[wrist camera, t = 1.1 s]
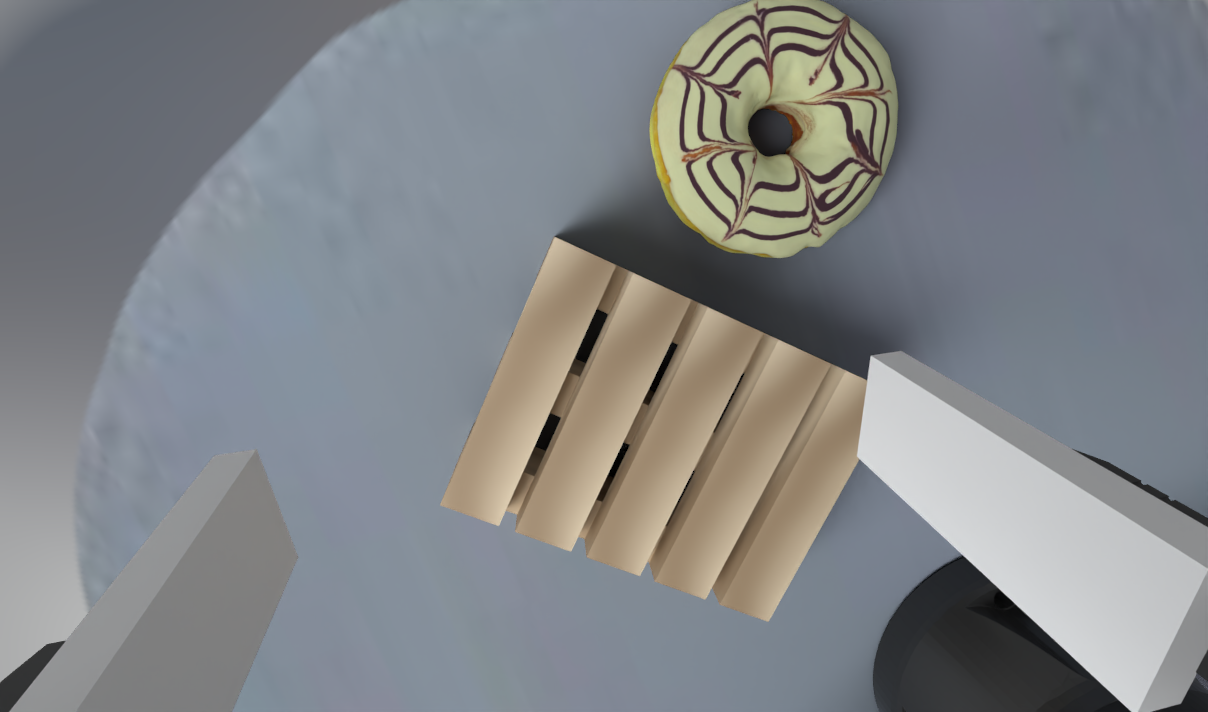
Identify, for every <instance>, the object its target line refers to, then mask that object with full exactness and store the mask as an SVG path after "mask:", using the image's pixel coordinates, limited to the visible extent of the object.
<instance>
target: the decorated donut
mask: <svg viewBox="0 0 1208 712" xmlns="http://www.w3.org/2000/svg"><path fill="white" fill-rule="evenodd" d="M762 108H764V109H768V108H769V109H770V110H776V111H777V112H779V113H780V114H783V115H785V116H786V117H787V118H788V120H789V121H790V122H789V124H791V125H792V129H793V131H792V132H793V133H792V136H793V139H792V142H791V146H790V147H789V148H788V149H787V150H786V154H780V155H775V156H771V157H767V156H764V155H762V154H760V153H759V152H758V150H757V149H756V148H755V146H754V145H753V143H752V141H751V139H750V137H749V134H748V123H749V120H750V118H751V116H752V115H753V114H754V113H756V111H757V110H760V109H762ZM897 112H898V97H897V88H896V82H895V78H894V75H893V72H892V69H891V63H890V59H889V56H888V54H887V52H886V51H885V50H884V48H883V47H882V45H881V44H880V43H879V42H878V41H877V40H876V38H875V37H874V36H873V35H872V34H871V33H870V32H869V31H867V30H866V29H865V28H863V27H862V26H861V25H860V24H859V23H857V22H856V21H854V20H853V19H851V18H850V17H849V16H847V15H846V14H844V13H842V12H840V11H839V10H838V9H836V8H835V7H833V6H832V5H830V4H828V3H826V2H823V1H820V0H751V1H749V2H747V3H745V4H742V5H738V6H735V7H732V8H730V9H728V10H725V11H723V12H721V13H719V14H717V15H716V16H714V17H713V18H712V19H711V20H710V21H709V22H708V23H706V24H705V25H703V26H701V27H700V28H698V29H697V30H696V31H695V32H694V33H693V34H692V35H691V37H690V38H689V39H688V40H687V41H686V42H685V43H684V44H683V46H682V47H681V48H680V50H679V52H678V53H677V54H676V55H675V58H674V59H673V62H672V63H671V64H670V66H669V68H668V70H667V72H666V74H665V76H664V78H663V80H662V83H661V85H660V87H659V90H658V93H657V96H656V98H655V102H654V105H653V109H652V112H651V118H650V142H651V148H652V153H653V157H654V161H655V166H656V172H657V177H658V178H659V180H660V182H661V186H662V188H663V190H664V193H665V197H666V199H667V201H668V203H669V205H670V206H671V207H672V209H673V210H674V211H675V213H676V214H677V215H678V217H679V218H680V220H681V221H682V222H683V223H684V224H685V225H687V226H688V227H690V228H691V229H693V230H694V231H696V232H697V233H700V234H701V235H702V236H703V237H704V238H705V239H706V240H707V242H709V243H710V244H713V245H715V246H716V247H718V248H720V249H722V250H724V251H727V252H732V253H747V254H754V255H757V256H760V257H771V258H785V257H790V256H793V255H795V254H796V253H798V252H799V251H801V250H802V249H804V248H807V247H820V246H822V245H823V244H824V243H826V242H827V241H828V240H829V239H830V238H831V237H832V236H833V235H834V234H835V233H836V232H837V231H838V230H839V229H840V228H842V227H844V226H846V225H847V224H848V223H849V222H851V221H852V220H854V219H855V218H856V217H857V216H858V214H859V213H860V212H861V211H862V210H863V209H864V208H865V207H866V206H867V205H868V204H869V202H870V200H871V199H872V197H873V195H874V194H875V192H876V190H877V188H878V186H879V184H880V182H881V180H882V178H883V177H884V175H885V172H886V169H887V166H888V164H889V161H890V158H891V156H892V153H893V150H894V144H895V140H896V134H897Z"/></svg>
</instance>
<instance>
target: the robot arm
mask: <svg viewBox="0 0 1208 712" xmlns="http://www.w3.org/2000/svg"><path fill="white" fill-rule="evenodd" d="M857 457H858V458H859V459H860V460H861V461H862V462H863V463H864V464H865V465H867V466H868V467H869V468H870V469H871V470H872V471H873V472H874V473H875V474H876V475H877V476H878V477H879V478H881V479H882V480H883V481H884V482H885V483H886V484H887V485H888V486H889V487H890V488H891V489H892V490H893V491H895V492H896V493H897V494H898V495H899V496H900V497H901V498H902V499H903V500H904V501H905V502H906V503H907V504H908V505H910V506H911V507H912V508H913V509H914V510H915V511H916V512H917V513H918V514H919V515H920V516H921V517H922V518H924V519H925V520H926V521H927V522H928V523H929V524H930V525H931V526H932V527H933V528H934V529H935V530H936V531H938V532H939V533H940V534H941V535H942V536H943V537H944V538H945V539H946V540H947V541H948V542H949V543H950V544H951V545H953V546H954V547H955V548H956V549H957V550H958V551H959V552H960V553H961V554H962V555H963V556H964V558H962V559H959V560H957V561H955V562H953V563H951V564H950V565H948V566H946V567H944V568H943V569H941V570H940V571H938V572H936V573H935V574H934V575H932V576H931V577H930V578H928V579H927V580H926V581H925V582H923V583H922V584H921V585H920V586H919V587H918V588H917V589H916V590H914V591H913V592H912V594H911V595H910V596H909V597H908V598H907V599H906V600H905V601H904V602H903V604H902V605H901V606H900V607H899V609H898V610H897V611H896V613H895V614H894V616H893V617H892V619H891V621H890V622H889V624H888V626H887V628H886V630H885V632H884V634H883V636H882V639H881V641H880V644H879V647H878V650H877V653H876V658H875V663H874V671H873V687H874V695H875V699H876V703H877V706H878V709H879V712H1208V690H1207V689H1205V688H1204V687H1203V686H1202V684H1201V683H1200V682H1199V681H1198V680H1197V679H1196V678H1195V676H1196V675H1197V673H1198V674H1199V675H1200V676H1201V677H1203V678H1204V679H1205V680H1207V681H1208V518H1206V517H1205V516H1203V515H1201V514H1199V513H1198V512H1196V511H1194V510H1192V509H1190V508H1189V507H1187V506H1185V505H1183V504H1182V503H1180V502H1178V501H1176V500H1174V501H1171V500H1169V498H1168V497H1169V496H1167V495H1166V494H1164V493H1162V492H1160V491H1158V490H1157V489H1155V488H1153V487H1151V486H1150V485H1148V484H1147V485H1143V484H1142V483H1141V480H1139V479H1137V478H1135V477H1134V476H1132V475H1130V474H1128V473H1126V472H1125V471H1123V470H1121V469H1119V468H1118V467H1116V466H1114V465H1112V464H1110V463H1109V462H1106V461H1103V460H1101V459H1098V458H1095V457H1093V456H1090V455H1087V454H1085V453H1082V452H1079V451H1076V450H1074V449H1071V448H1069V447H1067V446H1066V445H1064V444H1062V443H1060V442H1059V441H1057V440H1055V439H1053V438H1052V437H1050V436H1048V435H1047V434H1045V433H1043V432H1041V431H1040V430H1038V429H1036V428H1034V427H1033V426H1031V425H1029V424H1027V423H1026V422H1024V421H1022V420H1020V419H1019V418H1017V417H1015V416H1013V415H1012V414H1010V413H1008V412H1007V411H1005V410H1003V409H1001V408H1000V407H998V406H996V405H994V404H993V403H991V402H989V401H987V400H986V399H984V398H982V397H980V396H979V395H977V394H975V393H973V392H972V391H970V390H968V389H967V388H965V387H963V386H961V385H960V384H958V383H956V382H954V381H953V380H951V379H949V378H947V377H946V376H944V375H942V374H940V373H939V372H937V371H935V370H933V369H932V368H930V367H928V366H927V365H925V364H923V363H921V362H920V361H918V360H916V359H914V358H913V357H911V356H909V355H907V354H906V353H904V352H902V351H897V352H891V353H884V354H878V355H871V358H870V365H869V372H868V380H867V387H866V394H865V401H864V408H863V416H862V423H861V430H860V437H859V444H858V452H857ZM297 559H298V555H297V553H296V550H295V548H294V545H293V542H292V540H291V537H290V535H289V532H288V529H287V527H286V524H285V522H284V519H283V516H282V514H281V511H280V509H279V506H278V503H277V501H276V498H275V496H274V493H273V490H272V488H271V485H270V483H269V480H268V477H267V475H266V472H265V470H264V467H263V464H262V462H261V459H260V457H259V454H258V451H257V449H254V450H248V451H241V452H235V453H228V454H222V455H215V456H213V458H212V459H211V460H210V461H209V463H208V464H207V465H206V466H205V468H204V469H203V470H202V471H201V473H200V474H199V475H198V476H197V478H196V479H195V480H194V481H193V483H192V484H191V485H190V486H189V488H188V489H187V490H186V491H185V493H184V494H183V495H182V496H181V498H180V499H179V500H178V501H177V503H176V504H175V505H174V506H173V508H172V509H171V510H170V511H169V513H168V514H167V515H166V516H165V518H164V519H163V520H162V521H161V523H160V524H159V525H158V526H157V528H156V529H155V530H154V531H153V533H152V534H151V535H150V536H149V538H148V539H147V540H146V541H145V543H144V544H143V545H142V546H141V548H140V549H139V550H138V551H137V553H136V554H135V555H134V556H133V558H132V559H131V560H130V561H129V563H128V564H127V565H126V566H125V568H124V569H123V570H122V571H121V573H120V574H119V575H118V576H117V578H116V579H115V580H114V581H113V583H112V584H111V585H110V586H109V588H108V589H107V590H106V591H105V593H104V594H103V595H102V596H101V598H100V599H99V600H98V601H97V603H96V604H95V605H94V606H93V608H92V609H91V610H90V611H89V613H88V614H87V615H86V616H85V618H84V619H83V620H82V621H81V623H80V624H79V625H78V626H77V628H76V629H75V630H74V632H73V633H72V634H71V635H70V636H69V638H68V639H67V640H66V641H61V642H56V643H51V644H47V645H46V646H44V647H43V648H42V649H41V650H39V651H38V652H37V653H36V654H34V655H33V656H32V657H31V658H29V659H28V660H27V661H26V662H25V663H24V664H22V665H21V666H20V667H19V668H17V669H16V670H15V671H13V672H12V673H11V674H10V675H9V676H7V677H6V678H5V679H4V680H3V681H2V682H1V683H0V712H232V710H233V708H234V706H235V703H236V701H237V699H238V696H239V694H240V692H241V689H242V687H243V685H244V682H245V680H246V678H247V675H248V673H249V671H250V668H251V666H252V664H253V661H254V659H255V657H256V654H257V652H258V650H259V647H260V645H261V643H262V640H263V638H264V636H265V633H266V631H267V629H268V626H269V624H270V622H271V619H272V617H273V615H274V612H275V610H276V608H277V605H278V603H279V601H280V598H281V596H282V594H283V591H284V589H285V587H286V584H287V582H288V580H289V577H290V575H291V573H292V570H293V568H294V566H295V563H296V561H297Z"/></svg>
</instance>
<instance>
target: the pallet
mask: <svg viewBox="0 0 1208 712" xmlns="http://www.w3.org/2000/svg"><path fill="white" fill-rule="evenodd" d="M596 309H598V310H601V311H603V312H605V313H607V314H608V316H607V318H606V321H605V323H604V325H603V327H602V329H601V332H600V334H599V336H598V338H597V340H596V343H595V345H594V347H593V349H592V351H591V354H590V356H589V358H588V360H587V362H586V363H584V362H582V361H579V360H577V359H575V356H576V353H577V351H578V349H579V347H580V345H581V342H582V340H583V338H584V336H585V334H586V331H587V329H588V327H589V325H590V322H591V320H592V318H593V316H594V314H595V311H596ZM671 342H673V343H675V344H678V346H677V348H676V350H675V352H674V354H673V356H672V359H671V361H670V363H669V365H668V367H667V369H666V371H665V373H664V375H663V377H662V379H661V381H660V383H659V386H658V388H657V390H656V392H653V391H651V390H649V388H650V386H651V384H652V381H653V379H654V377H655V375H656V373H657V371H658V369H659V367H660V365H661V363H662V361H663V359H664V356H665V354H666V352H667V350H668V348H669V346H670V344H671ZM742 374H744V376H743V378H742V380H741V382H740V384H739V386H738V388H737V390H736V392H735V394H734V396H733V398H732V400H731V402H730V404H729V406H728V408H727V410H726V412H725V414H724V415H723V417H722V419H721V420H719V419H720V417H721V415H722V413H723V411H724V409H725V407H726V405H727V403H728V401H729V399H730V397H731V395H732V393H733V391H734V389H735V387H736V385H737V383H738V381H739V379H740V377H741V375H742ZM866 387H867V380H865V379H863V378H861V377H859V376H857V375H855V374H852V373H850V372H848V371H846V370H844V369H842V368H840V367H837V366H835V365H833V364H831V363H829V362H827V361H824V360H822V359H820V358H818V357H816V356H813V355H811V354H809V353H807V352H805V351H803V350H800V349H798V348H796V347H794V346H792V345H790V344H787V343H785V342H783V341H781V340H779V339H776V338H774V337H772V336H770V335H768V334H766V333H763V332H761V331H759V330H757V329H755V328H753V327H750V326H748V325H746V324H744V323H742V322H739V321H737V320H735V319H733V318H731V317H729V316H726V315H724V314H722V313H720V312H718V311H716V310H713V309H711V308H709V307H707V306H705V305H703V304H700V303H698V302H696V301H694V300H692V299H689V298H687V297H685V296H683V295H681V294H679V293H676V292H674V291H672V290H670V289H668V288H666V287H663V286H661V285H659V284H657V283H655V282H652V281H650V280H648V279H646V278H644V277H642V276H639V275H637V274H635V273H633V272H631V271H629V270H626V269H624V268H622V267H620V266H618V265H615V264H613V263H611V262H609V261H607V260H605V259H602V258H600V257H598V256H596V255H594V254H592V253H589V252H587V251H585V250H583V249H581V248H578V247H576V246H574V245H572V244H570V243H568V242H565V241H563V240H561V239H559V238H557V237H555V236H554V238H553V240H552V242H551V245H550V247H549V249H548V252H547V254H546V256H545V259H544V261H543V263H542V266H541V268H540V270H539V273H538V275H537V278H536V281H535V284H534V286H533V289H532V291H531V293H530V296H529V298H528V300H527V303H526V305H525V307H524V310H523V312H522V314H521V317H520V319H519V321H518V324H517V326H516V328H515V331H514V333H512V336H511V338H510V340H509V343H508V345H507V347H506V350H505V352H504V354H503V357H502V359H501V361H500V364H499V366H498V368H497V371H496V373H495V376H494V379H493V381H492V384H491V386H490V389H489V391H488V394H487V396H486V398H485V401H484V403H483V405H482V408H481V410H480V412H479V415H478V417H477V419H476V422H475V423H474V424H473V427H472V429H471V431H470V434H469V436H468V438H467V441H466V443H465V445H464V448H463V450H462V452H461V455H460V457H459V459H458V462H457V464H456V467H455V469H454V472H453V474H452V477H451V479H450V482H449V484H448V487H447V489H446V492H445V494H444V497H443V499H442V502H441V504H440V505H441V506H444V507H447V508H450V509H452V510H455V511H458V512H461V513H464V514H466V515H469V516H472V517H475V518H478V519H481V520H483V521H486V522H489V523H492V524H495V525H497V526H499V524H500V522H501V520H502V517H503V515H504V513H505V511H509V512H511V513H514V514H517V520H516V529H515V532H517V533H520V534H523V535H526V536H528V537H531V538H534V539H537V540H540V541H542V542H545V543H548V544H551V545H554V546H556V547H559V548H562V549H565V550H568V551H571V550H572V548H573V546H574V544H575V542H576V540H577V538H578V537H581V538H583V539H585V547H586V556H587V558H590V559H593V560H596V561H599V562H601V563H604V564H607V565H610V566H613V567H616V568H618V569H621V570H624V571H627V572H630V573H632V574H635V575H638V576H640V575H641V573H642V571H643V569H644V567H645V565H646V563H647V562H649V564H650V567H651V570H652V574H653V577H654V580H655V582H658V583H661V584H663V585H666V586H669V587H672V588H675V589H677V590H680V591H683V592H686V593H689V594H692V595H694V596H697V597H700V598H703V599H706V598H707V596H708V594H709V592H710V590H711V588H713V591H714V593H715V595H716V597H717V599H718V602H719V604H720V605H722V606H725V607H728V608H731V609H734V610H737V611H739V612H742V613H745V614H748V615H751V616H753V617H756V618H759V619H762V620H765V621H767V622H769V620H770V618H771V616H772V615H773V613H774V611H775V609H776V607H777V606H778V604H779V602H780V600H781V598H782V597H783V595H784V593H785V591H786V589H787V588H788V586H789V584H790V582H791V581H792V579H793V577H794V575H795V573H796V572H797V570H798V568H799V566H800V564H801V563H802V561H803V559H804V557H805V555H806V554H807V552H808V550H809V548H810V547H811V545H812V543H813V541H814V539H815V538H816V536H817V534H818V532H819V530H820V529H821V527H822V525H823V523H824V522H825V520H826V518H827V516H828V514H829V513H830V511H831V509H832V507H833V505H834V504H835V502H836V500H837V498H838V496H839V495H840V493H841V491H842V489H843V488H844V486H845V484H846V482H847V480H848V479H849V477H850V475H851V473H852V471H853V470H854V468H855V466H856V464H857V462H858V461H859V458H858V457H857V452H858V444H859V437H860V430H861V423H862V416H863V408H864V401H865V394H866ZM549 413H551V414H554V415H556V416H559V417H561V419H560V422H559V424H558V426H557V428H556V430H555V433H554V435H553V437H552V439H551V441H550V444H549V446H548V448H547V450H546V451H545V450H542V449H540V448H537V447H535V444H536V442H537V440H538V438H539V435H540V433H541V431H542V429H543V427H544V424H545V422H546V420H547V418H548V416H549ZM623 442H624V443H626V444H629V445H630V446H629V448H628V450H627V452H626V454H625V456H624V458H623V460H622V462H621V464H620V466H619V469H618V471H617V473H616V475H615V477H612V476H609V475H608V473H609V471H610V469H611V467H612V465H613V463H614V461H615V459H616V457H617V455H618V452H619V450H620V448H621V446H622V444H623ZM693 470H694V471H695V473H694V475H693V477H692V479H691V481H690V483H689V484H688V486H687V488H686V490H685V492H684V494H683V496H682V498H681V500H680V502H678V500H679V498H680V496H681V494H682V492H683V490H684V488H685V486H686V484H687V482H688V480H689V478H690V476H691V474H692V472H693Z"/></svg>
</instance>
